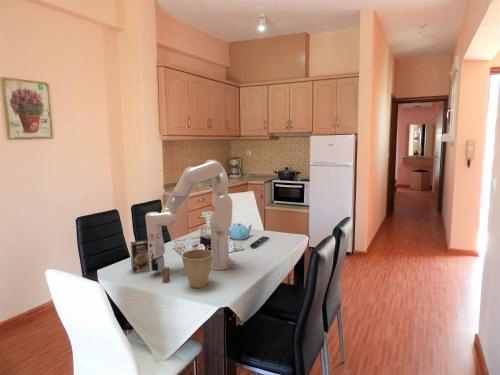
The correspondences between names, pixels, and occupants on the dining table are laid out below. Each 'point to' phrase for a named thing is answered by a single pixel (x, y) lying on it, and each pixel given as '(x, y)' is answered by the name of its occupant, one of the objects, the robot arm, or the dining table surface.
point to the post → (165, 274)
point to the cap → (159, 263)
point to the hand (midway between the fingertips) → (157, 267)
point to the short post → (184, 271)
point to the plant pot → (197, 266)
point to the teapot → (239, 232)
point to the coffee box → (139, 256)
